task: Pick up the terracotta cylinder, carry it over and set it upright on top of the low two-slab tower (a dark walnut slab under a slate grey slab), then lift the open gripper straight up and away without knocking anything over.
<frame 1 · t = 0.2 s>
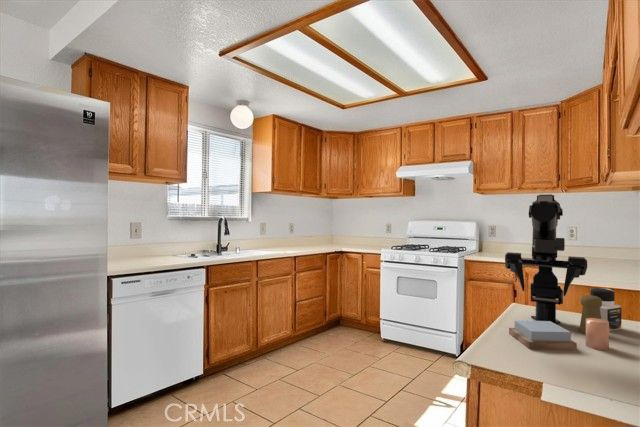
hand: (543, 293, 97), 15 cm above the counter, tool tilted 30°, fingers open, 9 cm apart
medicine bottle: (602, 327, 116), on the counter
terracotta cylinder: (597, 346, 99), on the counter
slate slab: (541, 335, 103), point 2 cm above the counter, touching walnut slab
olive green tapered piece: (591, 333, 111), on the counter
walnut slab: (540, 343, 103), on the counter, touching slate slab
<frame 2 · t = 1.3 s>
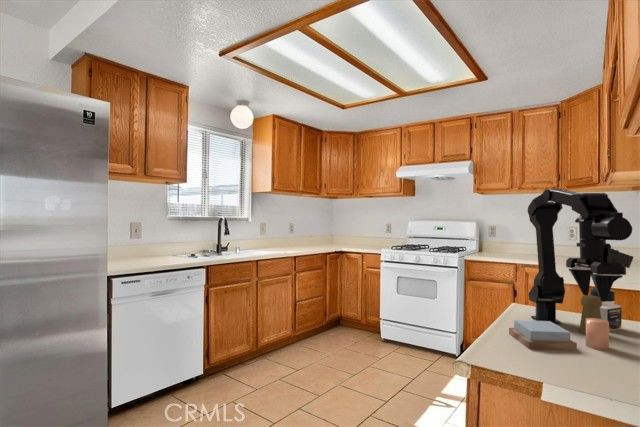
hand: (594, 298, 99), 13 cm above the counter, tool pointing down, fingers open, 9 cm apart
nothing on the counter moved.
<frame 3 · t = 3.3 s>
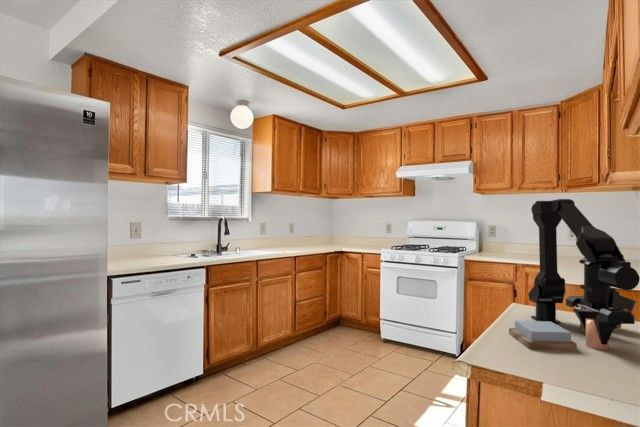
hand: (597, 340, 99), 2 cm above the counter, tool pointing down, fingers closed on terracotta cylinder, 5 cm apart
terracotta cylinder: (597, 346, 99), on the counter, touching gripper
everything else where it was.
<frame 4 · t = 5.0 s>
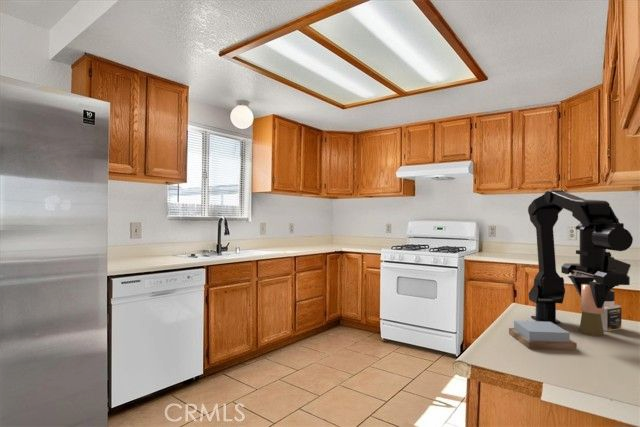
hand: (592, 305, 99), 11 cm above the counter, tool pointing down, fingers closed on terracotta cylinder, 5 cm apart
terracotta cylinder: (592, 311, 99), point 9 cm above the counter, touching gripper
everything else where it was.
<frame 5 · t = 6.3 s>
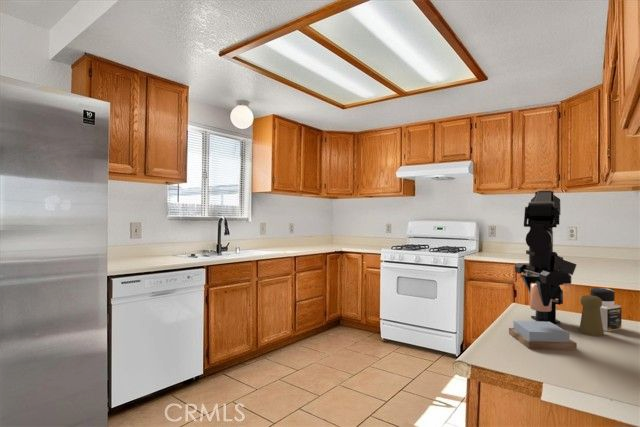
hand: (540, 303, 103), 11 cm above the counter, tool pointing down, fingers closed on terracotta cylinder, 5 cm apart
terracotta cylinder: (540, 309, 103), point 9 cm above the counter, touching gripper
everything else where it was.
when the fingers open (8 cm above the counter, at t = 7.2 s): terracotta cylinder drops 2 cm, resting on slate slab.
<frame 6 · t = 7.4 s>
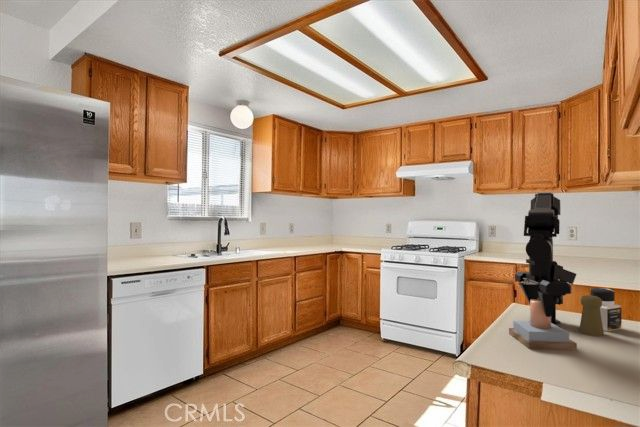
hand: (540, 312, 103), 8 cm above the counter, tool pointing down, fingers open, 7 cm apart
terracotta cylinder: (540, 326, 103), point 4 cm above the counter, touching slate slab
slate slab: (539, 335, 103), point 2 cm above the counter, touching terracotta cylinder, walnut slab
everything else where it was.
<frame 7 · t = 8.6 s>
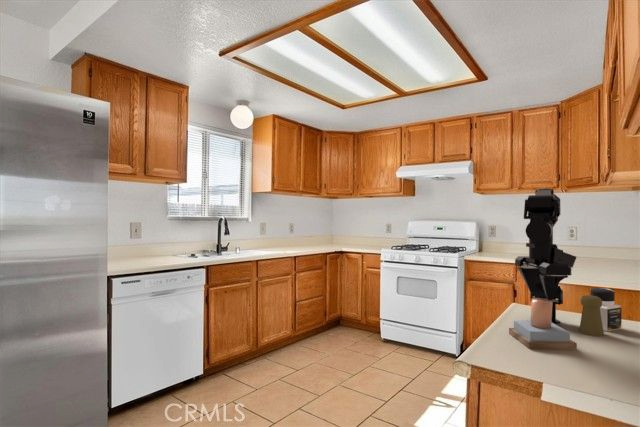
hand: (540, 296, 103), 13 cm above the counter, tool pointing down, fingers open, 9 cm apart
terracotta cylinder: (540, 325, 103), point 4 cm above the counter
slate slab: (540, 335, 103), point 2 cm above the counter
walnut slab: (540, 343, 103), on the counter
everything else where it was.
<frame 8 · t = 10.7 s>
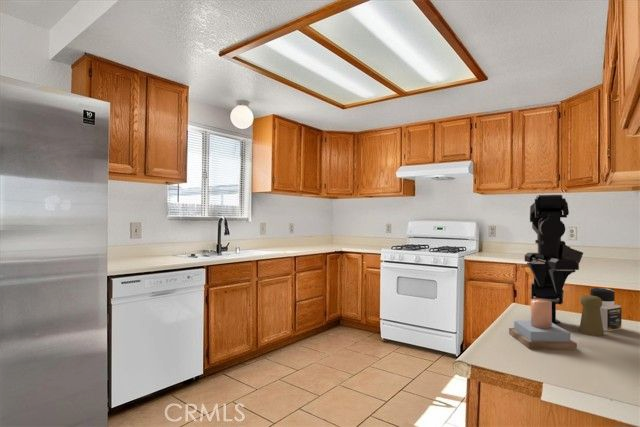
hand: (549, 289, 110), 13 cm above the counter, tool pointing down, fingers open, 9 cm apart
terracotta cylinder: (541, 326, 103), point 4 cm above the counter, touching slate slab
slate slab: (540, 335, 103), point 2 cm above the counter, touching terracotta cylinder, walnut slab
walnut slab: (540, 344, 103), on the counter, touching slate slab
everything else where it was.
at the end: terracotta cylinder 0.2 cm off-centre on the slate slab, point 2.5 cm above the slate slab's base; terracotta cylinder tilted 1°; slate slab 0.2 cm off-centre on the walnut slab, point 2.5 cm above the walnut slab's base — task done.
